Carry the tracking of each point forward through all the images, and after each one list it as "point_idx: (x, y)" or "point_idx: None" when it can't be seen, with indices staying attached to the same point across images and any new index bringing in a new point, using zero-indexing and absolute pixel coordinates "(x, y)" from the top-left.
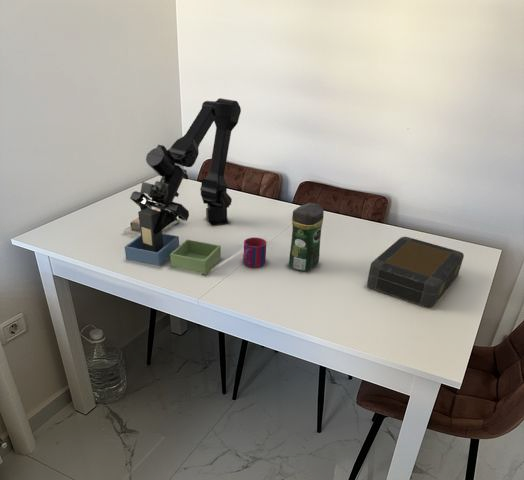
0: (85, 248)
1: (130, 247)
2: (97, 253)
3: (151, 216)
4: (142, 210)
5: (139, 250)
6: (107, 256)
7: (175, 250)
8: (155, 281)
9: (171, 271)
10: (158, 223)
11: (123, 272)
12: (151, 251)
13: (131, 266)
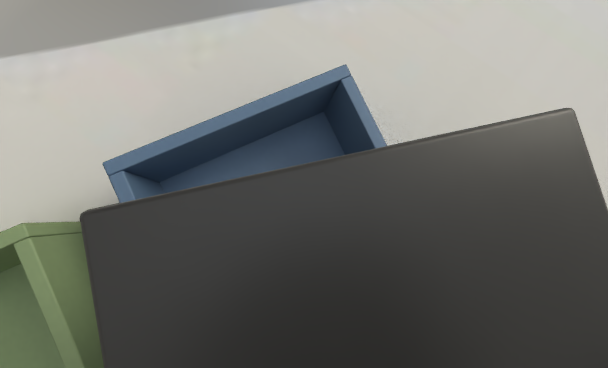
0: (537, 49)
1: (314, 85)
2: (468, 57)
3: (96, 227)
4: (591, 247)
5: (245, 106)
6: (418, 70)
7: (42, 296)
8: (42, 76)
9: (67, 202)
10: None
11: (235, 28)
12: (165, 148)
13: (261, 88)
